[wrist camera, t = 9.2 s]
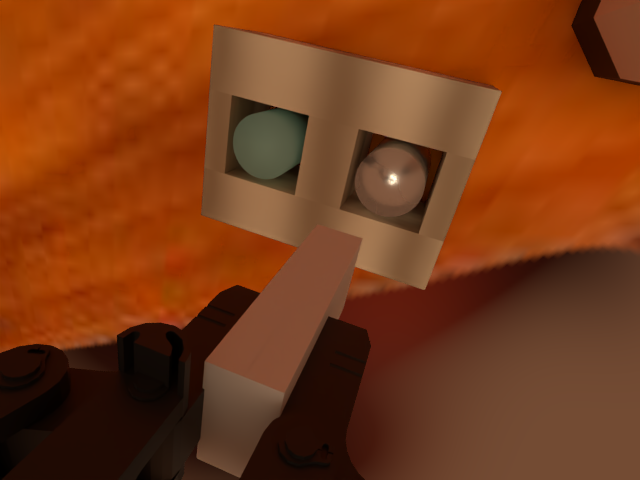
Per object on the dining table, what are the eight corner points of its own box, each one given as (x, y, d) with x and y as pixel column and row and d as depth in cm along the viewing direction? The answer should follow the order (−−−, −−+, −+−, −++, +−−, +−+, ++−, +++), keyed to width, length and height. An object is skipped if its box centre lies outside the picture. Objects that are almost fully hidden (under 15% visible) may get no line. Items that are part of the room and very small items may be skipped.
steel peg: (366, 181, 29) (347, 205, 24) (381, 126, 27) (364, 140, 22) (420, 196, 28) (412, 225, 23) (438, 141, 26) (434, 159, 21)
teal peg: (267, 152, 31) (230, 169, 25) (275, 98, 29) (236, 105, 24) (316, 166, 30) (287, 186, 25) (326, 112, 28) (298, 122, 23)
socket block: (241, 191, 33) (201, 214, 28) (259, 32, 28) (213, 24, 22) (430, 250, 30) (424, 290, 25) (492, 85, 25) (501, 91, 19)
